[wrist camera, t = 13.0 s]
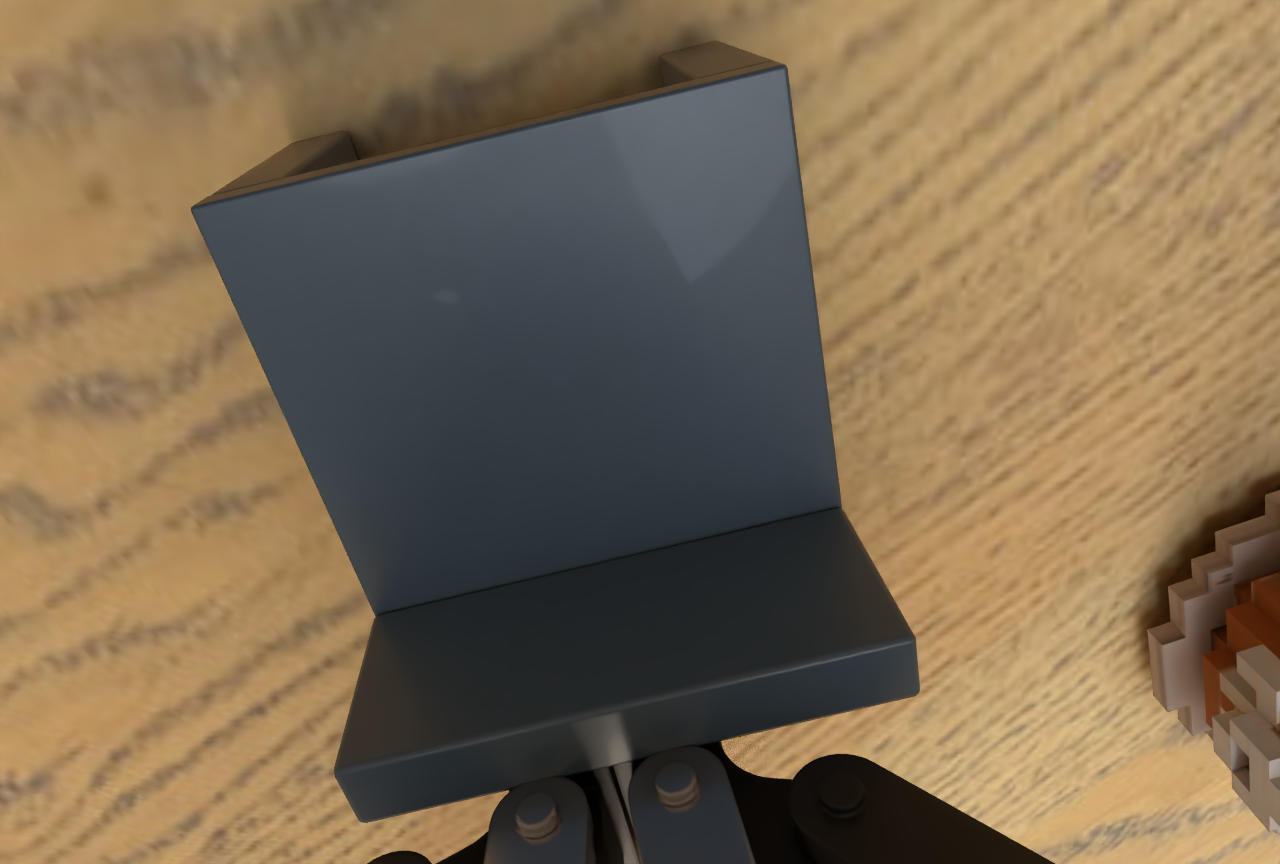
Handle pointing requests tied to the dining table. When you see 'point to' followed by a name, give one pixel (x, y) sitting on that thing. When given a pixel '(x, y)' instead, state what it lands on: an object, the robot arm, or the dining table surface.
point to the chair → (567, 432)
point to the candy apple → (1230, 656)
